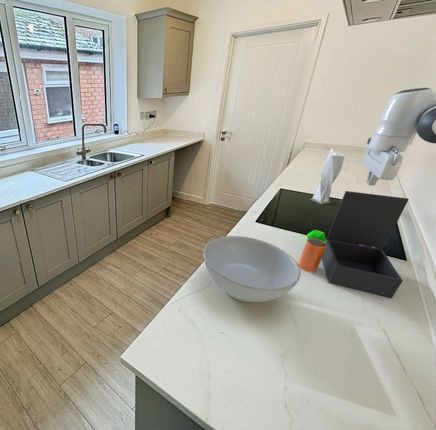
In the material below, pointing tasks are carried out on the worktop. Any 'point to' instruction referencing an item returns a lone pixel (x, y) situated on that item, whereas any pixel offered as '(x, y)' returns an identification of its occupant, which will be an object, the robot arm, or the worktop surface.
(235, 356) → the worktop surface
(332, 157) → the skyscraper
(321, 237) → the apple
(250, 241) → the decorative bowl
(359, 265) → the black box
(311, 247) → the cup
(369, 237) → the box lid
